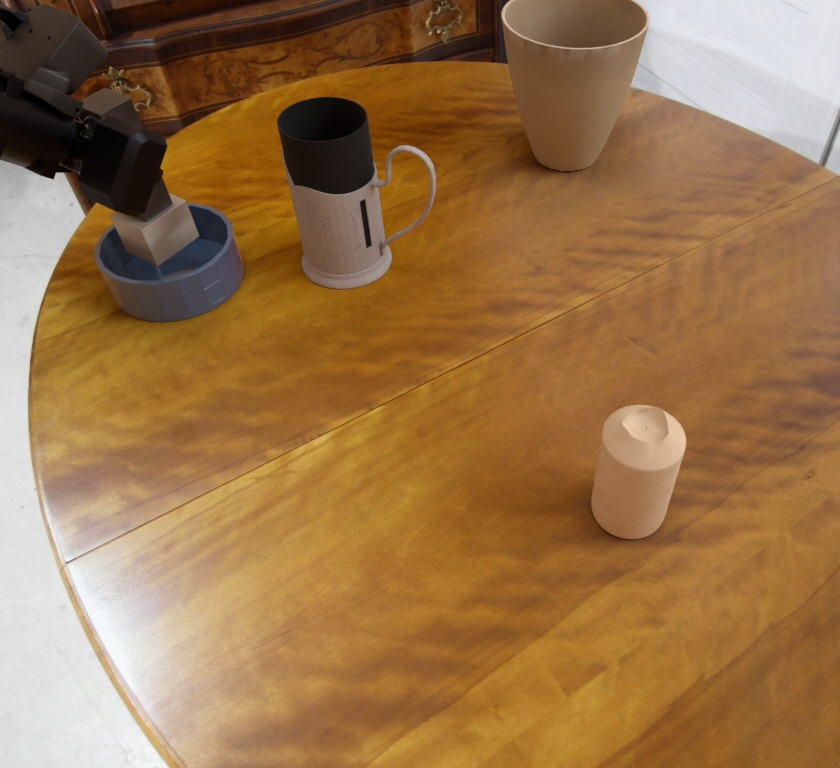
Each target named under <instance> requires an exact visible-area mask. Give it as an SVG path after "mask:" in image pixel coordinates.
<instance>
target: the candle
mask: <svg viewBox="0 0 840 768" xmlns="http://www.w3.org/2000/svg"><path fill="white" fill-rule="evenodd" d="M686 448H687V436H686V433H685V430H684V428H683V427H682V424H681V423H680V422H679V421H678V420H677V419H676V418H675V417H674V416H673V415H671V414H670V413H669V412H667V411H665V410H664V409H662V408H661V407H658V406H652V405H648V404H632V405H626V406H623V407H620V408H618V409H616V410H615V411H614V412H612V413H611V414H610V415H609V416H608V417H607V418H606V420H605V422H604V423H603V426H602V431H601V438H600V443H599V449H598V456H597V461H596V466H595V467H596V468H595V473H594V480H593V481H594V482H593V486H592V492H591V500H590V506H591V507H590V508H591V512H592V515H593V517H594V519H595V521H596V523H597V524H598V525H599V526H600V527H601V528H602V529H603V530H604V531H605V532H607V533H609V534H610V535H612V536H614V537H617V538H620V539H625V540H638V539H639V540H640V539H644V538H646V537H649V536H651V535H653V534H654V533H655V532H657V531H658V529H659V528H660V527H661V525H662V524H663V522H664V520H665V517H666V515H667V512H668V508H669V505H670V502H671V499H672V495H673V492H674V489H675V485H676V482H677V478H678V475H679V472H680V468H681V465H682V462H683V458H684V456H685V455H684V454H685V452H686Z"/></svg>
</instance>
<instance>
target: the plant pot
mask: <svg viewBox="0 0 840 768" xmlns="http://www.w3.org/2000/svg"><path fill="white" fill-rule="evenodd" d="M500 17H501V25H502V31H503V32H502V33H503V40H504V46H505V53H506V60H507V65H508V71H509V76H510V80H511V86H512V89H513V93H514V98H515V102H516V105H517V109H518V112H519V116H520V119H521V123H522V126H523V129H524V131H525V134H526V137H527V140H528V142H529V145H530V148H531V150H532V153H533V156H534V158H535V160H536V159H537V160H536V161H537V162H538V164H540V163H541V164H540V165H542V166H543V165H544V166H543V167H545V166H546V167H545V168H547V167H548V168H547V169H549V168H550V170H553V169H555V170H554V171H556V170H559V171H558V172H564V171H571V172H576V171H575V170H579V171H581V170H580V169H583V170H585V169H588V168H589V167H591V166H593V165H594V164H595V163H596V161H597V160H598V158H599V157H600V155H601V153H602V151H603V149H604V147H605V145H606V144H607V141H608V140H609V137H610V135H611V133H612V131H613V129H614V127H615V125H616V123H617V120H618V118H619V116H620V114H621V111H622V109H623V106H624V103H625V101H626V98H627V96H628V93H629V90H630V88H631V85H632V82H633V79H634V76H635V73H636V71H637V67H638V64H639V60H640V58H641V54H642V50H643V47H644V43H645V39H646V36H647V33H648V29H649V25H650V20H651V19H650V15H649V11H648V10H647V9H646V8H645V7H644V6H643V5H642V4H641V3H640V2H639V1H637V0H508V1H507V2H506V3H505V4H504V6H503V7H502V10H501V14H500ZM587 167H588V168H587ZM584 168H585V169H584Z"/></svg>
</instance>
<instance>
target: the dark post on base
mask: <svg viewBox="0 0 840 768" xmlns="http://www.w3.org/2000/svg"><path fill="white" fill-rule="evenodd" d="M80 101H82V102H84V104H83V107H82V110H81V113H80V116H79V120H80V122H83V120H84V119H85V118H86V117H88V116H91V117H94V118H96V119H99V120H103V119H105V118H106V116H107V115H109V116H111V115H113V116H116V117H118V118H121V119H123V120H125V121H128V122H130V123H133V124H135V125H138V126H140V127H143V125H142V122H141V120H140V118H139V115H138V112H137V110H136V108H135V105H134V103H133V100H132V97H130V96H128V95H125V94H122V93H120V92H118V91H115V90H112V89H109V88H107V87H103V88H101V89H99V90H98V91H95V92H93V93H92V94H90V95H88V96H86V97H84V98H83V99H81V100H80ZM88 137H89V136H88ZM187 203H188V202H187V200H186V199H183V198H181V197H179V196H177V195H175V194H172V193H170V192H169V191H168V188H167V185H166V183H165V181H164V177H162V178H161V181H160V182H159V183H156V184H154V187H153V190H152V193H151V196H150V199H149V202H148V204H147V207H146V210H145V213H144V214H142V215H140V216H139V217H137V218H136V217H133V216H129V215H126V214H122V213H119V212H116V211H113V213H111V214H110V215H109V218H110V219H111V222H112V225H113V224H114V226H115V228H116V230H117V232H118V234H119V236H120V238H121V240H122V242H123V244H124V246H125V249H126V251H127V252H129V253H131V254H133V255H135V256H137V257H139V258H141V259H143V260H145V261H147V262H149V263H151V264H153V265H156V266H159V265H160V264H162V263H163V262H165V261H166V260H167V259H169V258H170V257H172V256H173V255H174V254H176V253H177V252H178V251H180V250H181V249H183V248H184V247H185V246H187V245H188V244H190V243H191V242H192V241H194V240H195V239H196V238H198V237H199V234H198V231H197V228H196V226H195V223H194V221H193V218H192V215H191V213H190V210H189V207H188V205H187Z"/></svg>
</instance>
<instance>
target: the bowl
mask: <svg viewBox="0 0 840 768" xmlns="http://www.w3.org/2000/svg"><path fill="white" fill-rule="evenodd" d="M187 205H188V207H189V210H190V213H191V215H192V218H193V221H194V223H195V226H196V228H197V231H198V234H199V237H198V238H196V239H195V240H194V241H192V242H191V243H190V244H188V245H187V246H185V247H184V248H183V249H181V250H180V251H178V252H177V253H176V254H174V255H173V256H172V257H170V258H169V259H167V260H166V261H165V262H163V263H162V264H160V265H159V266H156V265H153V264H151V263H149V262H147V261H145V260H143V259H141V258H139V257H137V256H135V255H133V254H131V253H129V252H127V251H126V249H125V246H124V244H123V242H122V240H121V238H120V236H119V234H118V232H117V230H116V228H115V226H114V224H113V223H112V224H111V225H110V227H108V228H107V229H105V231H104V232H103V233H102V234H101V235H100V237H99V238H98V240H97V242H96V243H95V245H94V251H93V252H94V253H93V255H94V256H93V261H94V262H95V265H96V266H97V268H98V270H99V272H100V274H101V276H102V278H103V281H104V283H105V285H106V287H107V290H108V291H109V293H110V295H111V297H112V299H113V301H114V303H115V304H116V306H117V307H118V308H119V309H120V310H121V311H122V312H124V313H125V314H126V315H128V316H131V317H132V318H135V319H138V320H141V321H147V322H155V323H167V322H168V323H169V322H170V323H171V322H179V321H184V320H188V319H192V318H196V317H198V316H201V315H204V314H206V313H208V312H210V311H212V310H214V309H216V308H217V307H219V306H221V305H222V304H224V303H225V302H226V301H228V300H229V299H230V298H231V297H232V296H233V295H234V294H235V293H236V292H237V290H238V289H239V288H240V286H241V284H242V282H243V280H244V276H245V265H244V262H243V260H244V259H243V256H242V251H241V249H240V246H239V242H238V239H237V235H236V232H235V229H234V225H233V223H232V222H231V221H230V219H229V218H228V217H227V215H226V214H224V213H223V212H222V211H220V210H218V209H217V208H214V207H212V206H209V205H205V204H201V203H197V202H187Z"/></svg>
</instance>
